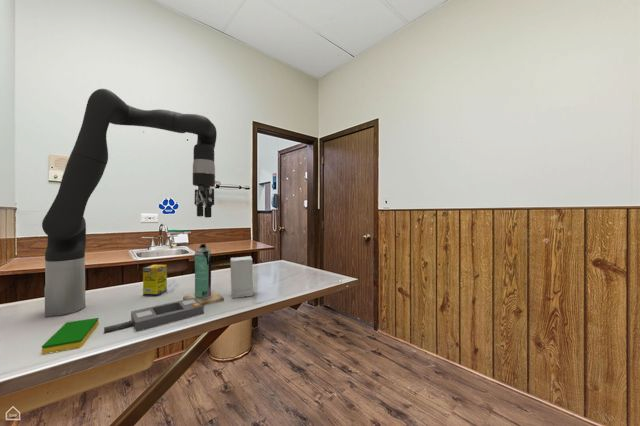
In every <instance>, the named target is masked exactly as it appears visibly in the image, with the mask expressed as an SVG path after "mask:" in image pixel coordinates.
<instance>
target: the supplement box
mask: <svg viewBox="0 0 640 426" xmlns="http://www.w3.org/2000/svg"><path fill="white" fill-rule="evenodd" d="M167 272H168V266H167V264H151V265H148V266H146V267H143V268H142V282H143V283H142V296H145V297H146V296H147V297H148V296H149V297H158V296H159V295H162V294H163V293H165V292H167V290H168V289H167V288H168V287H167V285H168V280H167V278H168V274H167Z"/></svg>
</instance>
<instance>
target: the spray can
mask: <svg viewBox="0 0 640 426" xmlns="http://www.w3.org/2000/svg"><path fill="white" fill-rule="evenodd" d="M211 291H212V251H211V249H210V248H208V246H207V245H206V243H200V246H199V247H198V248H197V249H196V250H195V252H194V294H195V299H197V300H204V299H208V298H210V297H211Z"/></svg>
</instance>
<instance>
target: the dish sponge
mask: <svg viewBox="0 0 640 426" xmlns="http://www.w3.org/2000/svg"><path fill="white" fill-rule="evenodd" d="M99 322H100V318H99V317H94V318H87V319H80V320H74V321H68V322H65V323H64V324H63V325H62V326H60V328H59V329H58V330H57V331H56V332H54V334H52V336H50V337H49V339H47V340H46V342H45V343H43V344H42V345H41V355H46V354H45V353H48V354H51V353H50V352H54V353H57V352H56V351H59V352H63V351H62V350H64V351H68V350H67V349H70V350H74V349H80V348H82V347H83V346H84V345H85V343H86V342H87V340H88V339H90V337H91V335H92V334H93V332H94V331H95V330H96V329H97V327H98V326H99Z"/></svg>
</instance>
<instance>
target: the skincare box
mask: <svg viewBox="0 0 640 426" xmlns="http://www.w3.org/2000/svg"><path fill="white" fill-rule="evenodd" d="M253 274H254V272H253V258H252V256H251V255H249V256H248V255H247V256H240V257H238V256H237V257H230V285H231V288H230V289H231V291H230V292H231V299H237V298H238V299H239V298H244V297H245V296H246V297H251V296H254V282H253V281H254V280H253V278H254V275H253Z"/></svg>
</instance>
